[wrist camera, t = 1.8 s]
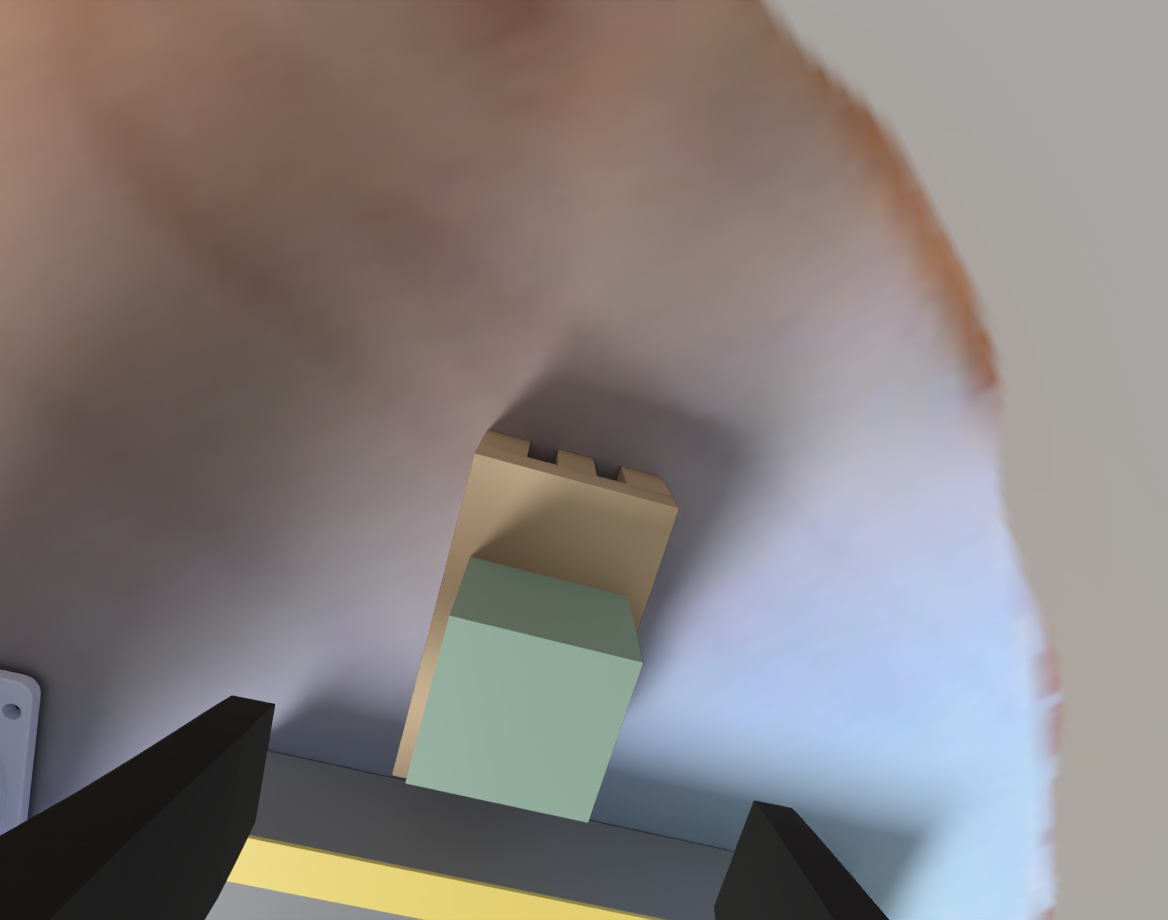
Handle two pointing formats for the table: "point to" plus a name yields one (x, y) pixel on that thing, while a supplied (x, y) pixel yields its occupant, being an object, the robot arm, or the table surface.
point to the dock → (448, 858)
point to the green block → (527, 691)
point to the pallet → (548, 537)
